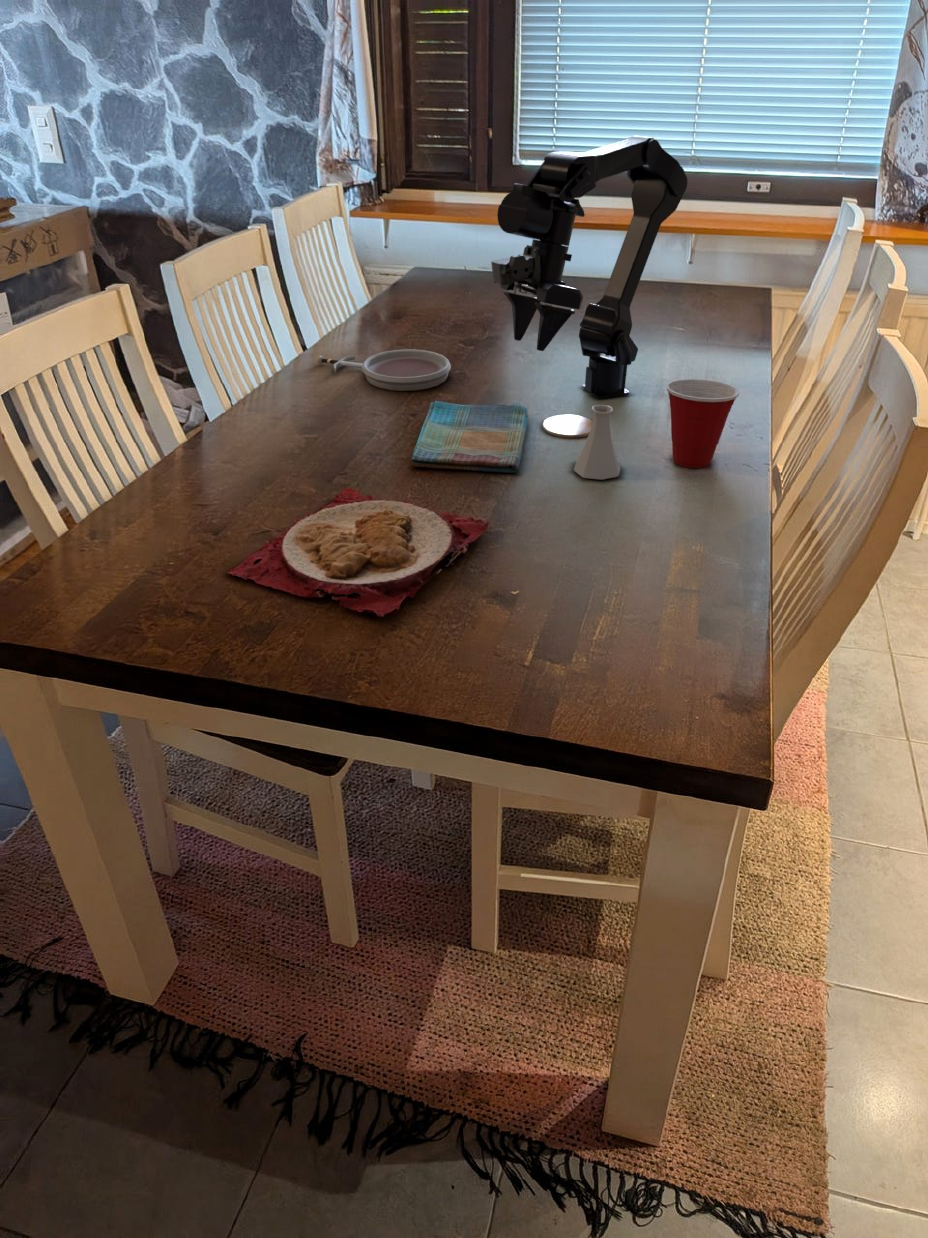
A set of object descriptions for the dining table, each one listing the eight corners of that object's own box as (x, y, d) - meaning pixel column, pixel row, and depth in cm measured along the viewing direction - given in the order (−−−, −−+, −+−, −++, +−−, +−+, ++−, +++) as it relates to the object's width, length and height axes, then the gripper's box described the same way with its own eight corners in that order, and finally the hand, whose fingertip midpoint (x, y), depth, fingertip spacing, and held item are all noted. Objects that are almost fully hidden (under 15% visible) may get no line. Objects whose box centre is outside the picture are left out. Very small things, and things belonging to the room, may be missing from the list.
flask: (569, 461, 142) (573, 400, 136) (615, 460, 142) (621, 398, 136) (578, 482, 136) (582, 418, 130) (625, 480, 136) (632, 416, 130)
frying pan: (336, 339, 185) (464, 352, 176) (337, 353, 186) (464, 367, 178) (293, 365, 172) (429, 381, 163) (295, 380, 173) (430, 397, 165)
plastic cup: (730, 451, 145) (743, 378, 138) (723, 479, 136) (737, 402, 130) (662, 442, 148) (671, 370, 141) (651, 469, 139) (660, 393, 132)
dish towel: (529, 416, 157) (529, 402, 155) (520, 475, 138) (520, 459, 136) (430, 412, 159) (430, 398, 157) (408, 469, 139) (407, 454, 138)
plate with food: (490, 534, 123) (491, 511, 121) (385, 624, 104) (383, 599, 102) (347, 497, 133) (345, 475, 131) (226, 573, 114) (222, 549, 112)
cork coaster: (581, 414, 158) (582, 411, 157) (605, 433, 151) (606, 430, 150) (534, 421, 155) (534, 418, 155) (556, 441, 148) (556, 438, 148)
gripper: (481, 228, 146) (463, 327, 152) (528, 237, 130) (505, 348, 136) (543, 241, 150) (522, 338, 156) (595, 252, 134) (570, 359, 140)
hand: (528, 345), depth 147 cm, fingers open, 9 cm apart
